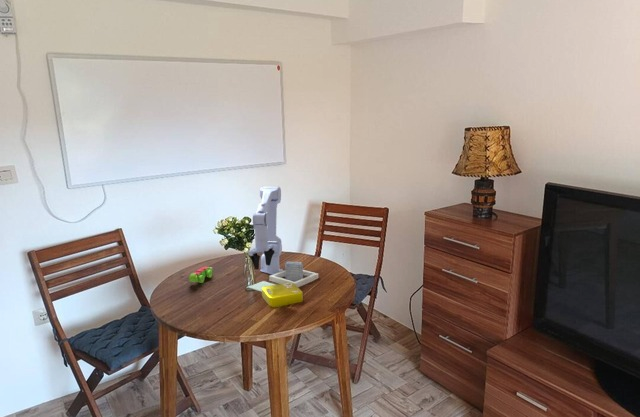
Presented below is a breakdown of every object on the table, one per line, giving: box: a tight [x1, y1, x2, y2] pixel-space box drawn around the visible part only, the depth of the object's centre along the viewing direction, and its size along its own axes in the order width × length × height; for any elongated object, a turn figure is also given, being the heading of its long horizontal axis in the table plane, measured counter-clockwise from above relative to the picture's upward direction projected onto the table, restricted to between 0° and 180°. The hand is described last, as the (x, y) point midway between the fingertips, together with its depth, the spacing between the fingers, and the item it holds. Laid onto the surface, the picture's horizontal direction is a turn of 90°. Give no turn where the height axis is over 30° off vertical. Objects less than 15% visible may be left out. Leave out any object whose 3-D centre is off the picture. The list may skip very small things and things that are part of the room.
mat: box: [247, 280, 276, 293], centre depth 203 cm, size 10×10×1 cm
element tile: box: [261, 282, 304, 308], centre depth 189 cm, size 15×15×5 cm
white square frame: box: [268, 269, 319, 288], centre depth 212 cm, size 17×17×2 cm
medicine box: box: [284, 260, 304, 282], centre depth 211 cm, size 8×4×9 cm, turn 77°
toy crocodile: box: [188, 266, 214, 284], centre depth 214 cm, size 20×7×6 cm, turn 166°
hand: (262, 267), depth 201 cm, fingers open, 7 cm apart
